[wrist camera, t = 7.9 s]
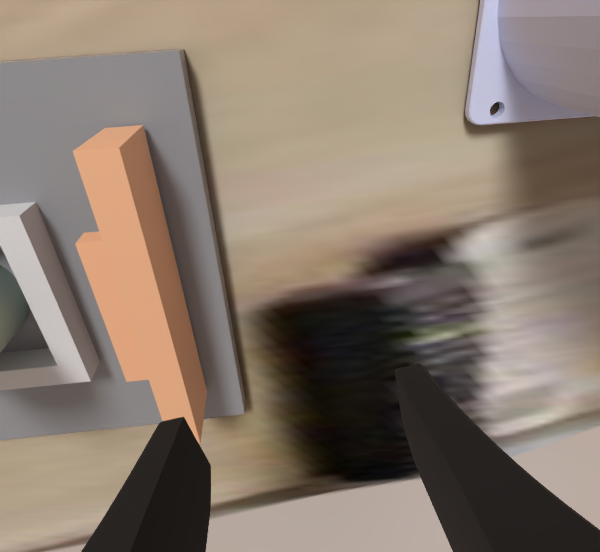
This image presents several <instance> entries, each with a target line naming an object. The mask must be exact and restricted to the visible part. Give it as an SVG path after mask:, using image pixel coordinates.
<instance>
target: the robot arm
mask: <svg viewBox="0 0 600 552" xmlns="http://www.w3.org/2000/svg"><path fill="white" fill-rule="evenodd" d="M496 102H498V103H499V109H498V111H497V112H496V113H495V114H494V115H490V109H491V106H492V105H493V104H494V103H496ZM465 116H466V118H467V120H468V121H470V122H471V123H473V124H475V125H491V124H504V123H516V122H529V121H542V120H554V119H567V118H580V117H592V116H597V117H600V0H480V7H479V14H478V21H477V28H476V36H475V43H474V50H473V57H472V65H471V72H470V79H469V86H468V93H467V101H466V108H465ZM395 375H396V382H397V389H398V397H399V404H400V411H401V418H402V424H403V427H404V431H405V434H406V437H407V440H408V443H409V446H410V449H411V452H412V456H413V459H414V462H415V465H416V467H417V469H418V472H419V474H420V476H421V479H422V481H423V483H424V486H425V488H426V490H427V493H428V495H429V497H430V500H431V502H432V504H433V506H434V509H435V511H436V513H437V516H438V518H439V520H440V523H441V525H442V527H443V529H444V532H445V534H446V537H447V538H448V541H449V543H450V546H451V548H452V550H453V552H600V530H599V529H598V528H597V527H595V526H594V525H592V524H591V523H590V522H589V521H587V520H586V519H585V518H583V517H582V516H581V515H579V514H578V513H577V512H576V511H574V510H573V509H572V508H570V507H569V506H568V505H566V504H565V503H564V502H563V501H561V500H560V499H559V498H558V497H556V496H555V495H554V494H553V493H551V492H550V491H549V490H548V489H546V488H545V487H544V486H543V485H541V484H540V483H539V482H538V481H537V480H535V479H534V478H533V477H532V476H531V475H530V474H529V473H527V472H526V471H525V470H524V469H523V468H522V467H521V466H519V465H518V464H517V463H516V462H515V461H514V460H513V459H512V458H511V457H509V456H508V455H507V454H506V453H505V452H504V451H503V450H502V449H501V448H499V447H498V446H497V445H496V444H495V443H494V442H493V441H492V440H491V439H490V438H489V437H488V436H487V435H486V434H485V433H484V432H483V431H482V430H481V429H480V428H479V427H478V426H477V425H476V424H475V423H474V422H473V421H472V420H471V419H470V418H469V417H468V416H467V415H466V414H465V413H464V412H463V411H462V410H461V409H460V408H459V407H458V406H457V405H456V404H455V402H454V401H453V400H452V399H451V398H450V397H449V396H448V395H447V394H446V393H445V391H444V390H443V389H442V388H441V387H440V386H439V385H438V383H437V382H436V381H435V380H434V379H433V377H432V376H431V375H430V374H429V372H428V371H427V370H426V368H425V367H424V366H422V365H421V364H416V365H411V366H407V367H402V368H398V369H395ZM210 505H211V465H210V463H209V462H208V460H207V458H206V456H205V454H204V452H203V451H202V449H201V447H200V445H199V443H198V442H197V440H196V438H195V436H194V434H193V432H192V431H191V429H190V427H189V425H188V423H187V421H186V420H185V418H184V417H180V418H175V419H171V420H166V421H162V422H160V423H159V425H158V426H157V428H156V430H155V432H154V433H153V435H152V437H151V438H150V440H149V442H148V444H147V445H146V447H145V449H144V451H143V452H142V454H141V456H140V458H139V459H138V461H137V463H136V465H135V466H134V468H133V470H132V471H131V473H130V475H129V477H128V478H127V480H126V482H125V483H124V485H123V487H122V488H121V490H120V492H119V493H118V495H117V497H116V498H115V500H114V502H113V503H112V505H111V506H110V508H109V510H108V511H107V513H106V515H105V516H104V518H103V519H102V521H101V522H100V524H99V526H98V527H97V529H96V530H95V532H94V533H93V535H92V536H91V538H90V539H89V541H88V542H87V544H86V545H85V547H84V549H83V550H82V552H205V551H206V543H207V533H208V525H209V517H210Z"/></svg>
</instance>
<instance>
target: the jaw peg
mask: <svg viewBox="0 0 600 552" xmlns="http://www.w3.org/2000/svg"><path fill="white" fill-rule="evenodd" d="M28 312H29V305H28V303H27V300H26V298H25V296H24V294H23V292H22V290H21V288H20V286H19V284H18V282H17V279H16V278H15V277H14V276H13V275H12V274H11V273H10V272H9V271H8V270H6V269H5V268H4V267H2V266H1V265H0V353H1V351H2V350H3V349H4V348H5V346H6V345H7V344H8V342H9V341H10V340H11V339H12V337H13V336H14V335H15V334H16V332H17V331H18V330H19V329H20V327H21V326H22V325H23V323H24V322H25V321H26V318H27V316H28Z"/></svg>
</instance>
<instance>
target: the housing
mask: <svg viewBox="0 0 600 552" xmlns="http://www.w3.org/2000/svg"><path fill="white" fill-rule="evenodd" d="M137 125H143V126H144V130H145V134H146V139H147V143H148V147H149V151H150V155H151V159H152V164H153V168H154V172H155V176H156V180H157V185H158V189H159V193H160V197H161V201H162V205H163V210H164V214H165V218H166V222H167V226H168V230H169V235H170V239H171V243H172V247H173V251H174V256H175V260H176V264H177V268H178V272H179V276H180V281H181V285H182V289H183V293H184V297H185V301H186V306H187V310H188V314H189V318H190V322H191V327H192V331H193V335H194V339H195V343H196V347H197V352H198V356H199V360H200V364H201V368H202V373H203V377H204V381H205V385H206V389H207V396H206V404H205V411H204V419H205V418H214V417H224V416H233V415H242V414H245V395H244V389H243V384H242V378H241V372H240V366H239V361H238V355H237V349H236V344H235V338H234V332H233V327H232V321H231V315H230V310H229V304H228V298H227V293H226V287H225V281H224V275H223V270H222V264H221V258H220V253H219V247H218V241H217V236H216V230H215V224H214V219H213V213H212V207H211V202H210V196H209V190H208V185H207V179H206V173H205V167H204V162H203V156H202V150H201V145H200V139H199V133H198V128H197V122H196V116H195V111H194V105H193V99H192V94H191V88H190V82H189V76H188V71H187V65H186V59H185V54H184V49H173V50H158V51H144V52H129V53H115V54H100V55H85V56H71V57H56V58H42V59H27V60H13V61H0V265H1V266H2V267H4V268H5V269H6V270H8V271H9V272H10V273H11V274H12V275H13V276H14V277H15V278H16V279H17V282H18V284H19V286H20V288H21V290H22V292H23V294H24V296H25V298H26V300H27V303H28V305H29V312H28V316H27V318H26V321H25V322H24V323H23V325H22V326H21V327H20V329H19V330H18V331H17V332H16V334H15V335H14V336H13V337H12V339H11V340H10V341H9V342H8V344H7V345H6V346H5V348H4V349H3V350H2V351H1V353H0V440H9V439H19V438H28V437H37V436H47V435H56V434H65V433H75V432H84V431H93V430H103V429H112V428H121V427H131V426H140V425H149V424H159V423H160V422H162V418H161V415H160V412H159V409H158V406H157V403H156V400H155V397H154V394H153V391H152V388H151V385H150V382H149V380H140V381H131V382H126V379H125V377H124V374H123V371H122V369H121V366H120V363H119V360H118V358H117V355H116V352H115V350H114V347H113V344H112V342H111V339H110V336H109V334H108V331H107V328H106V326H105V323H104V320H103V317H102V315H101V312H100V309H99V307H98V304H97V301H96V299H95V296H94V293H93V291H92V288H91V285H90V282H89V280H88V277H87V274H86V272H85V269H84V266H83V264H82V261H81V258H80V256H79V253H78V250H77V248H76V245H75V243H76V242H77V241H78V239H79V238H80V237H81V236H82V235H83V233H87V232H98V231H99V229H98V226H97V223H96V220H95V217H94V214H93V211H92V208H91V205H90V202H89V199H88V196H87V193H86V190H85V187H84V184H83V181H82V178H81V175H80V172H79V169H78V166H77V163H76V160H75V157H74V154H73V151H74V150H75V149H76V148H78V147H79V146H81V145H82V144H83V143H85V142H86V141H88V140H89V139H90V138H92V137H93V136H95V135H96V134H97V133H99V132H100V131H102V130H103V129H104V128H111V127H124V126H137Z"/></svg>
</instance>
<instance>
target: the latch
mask: <svg viewBox="0 0 600 552" xmlns="http://www.w3.org/2000/svg"><path fill="white" fill-rule="evenodd" d="M73 154H74V157H75V160H76V163H77V166H78V169H79V172H80V175H81V178H82V181H83V184H84V187H85V190H86V193H87V196H88V199H89V202H90V205H91V208H92V211H93V214H94V217H95V220H96V223H97V226H98V229H99V231H98V232H87V233H83V235H82V236H81V237H80V238H79V239H78V241H77V242H76V243H75V245H76V248H77V250H78V253H79V256H80V258H81V261H82V264H83V266H84V269H85V272H86V274H87V277H88V280H89V282H90V285H91V288H92V291H93V293H94V296H95V299H96V301H97V304H98V307H99V309H100V312H101V315H102V317H103V320H104V323H105V326H106V328H107V331H108V334H109V336H110V339H111V342H112V344H113V347H114V350H115V352H116V355H117V358H118V360H119V363H120V366H121V369H122V371H123V374H124V377H125V379H126V382H131V381H140V380H149V382H150V385H151V388H152V391H153V394H154V397H155V400H156V403H157V406H158V409H159V412H160V415H161V418H162V421H166V420H171V419H175V418H180V417H184V418H185V420H186V421H187V423H188V425H189V427H190V429H191V431H192V432H193V434H194V436H195V438H196V440H197V442H198V443H200V441H201V434H202V426H203V419H204V411H205V404H206V396H207V389H206V385H205V381H204V377H203V373H202V368H201V364H200V360H199V356H198V352H197V347H196V343H195V339H194V335H193V331H192V327H191V322H190V318H189V314H188V310H187V306H186V301H185V297H184V293H183V289H182V285H181V281H180V276H179V272H178V268H177V264H176V260H175V256H174V251H173V247H172V243H171V239H170V235H169V230H168V226H167V222H166V218H165V214H164V210H163V205H162V201H161V197H160V193H159V189H158V185H157V180H156V176H155V172H154V168H153V164H152V159H151V155H150V151H149V147H148V143H147V139H146V134H145V130H144V126H143V125H137V126H124V127H111V128H104V129H103V130H102V131H100V132H99V133H97V134H96V135H95V136H93V137H92V138H90V139H89V140H88V141H86V142H85V143H83V144H82V145H81V146H79V147H78V148H76V149H75V150H74V151H73Z"/></svg>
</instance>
